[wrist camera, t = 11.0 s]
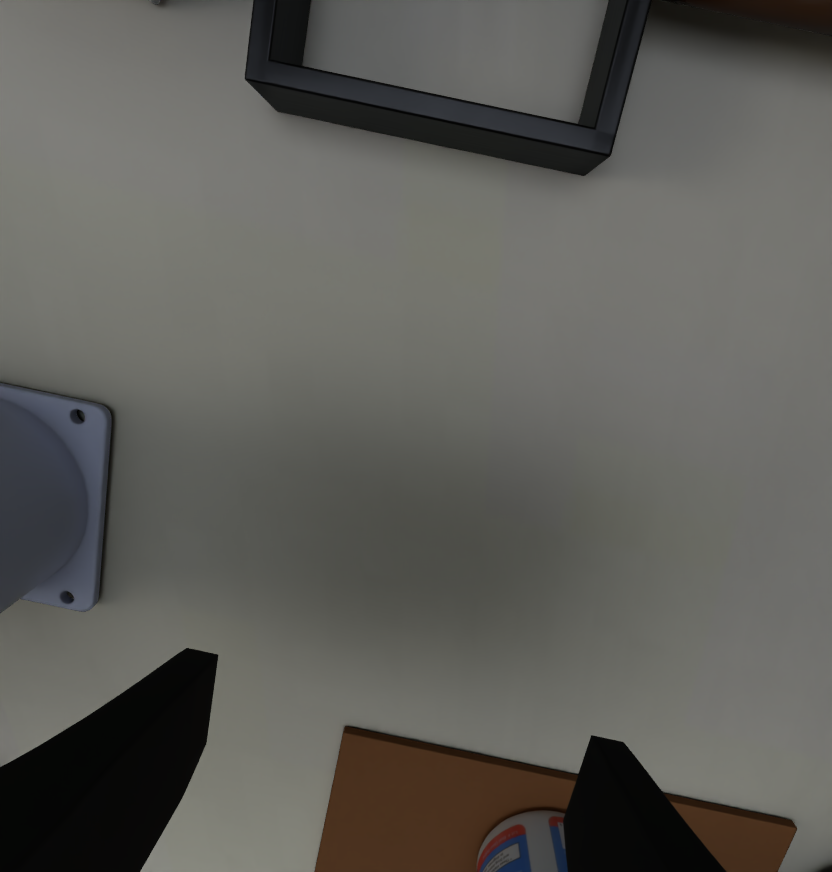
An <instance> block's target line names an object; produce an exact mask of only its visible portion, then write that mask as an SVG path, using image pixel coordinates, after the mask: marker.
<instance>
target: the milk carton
mask: <svg viewBox="0 0 832 872" xmlns="http://www.w3.org/2000/svg"><path fill="white" fill-rule="evenodd" d="M149 1H150V2H152V3H153V4H155V5H158V4H159V3H160V1H161V0H149Z"/></svg>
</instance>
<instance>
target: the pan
mask: <svg viewBox="0 0 832 872" xmlns="http://www.w3.org/2000/svg"><path fill="white" fill-rule="evenodd" d="M662 1H667V2H672V3H676V4H681V5H686V6H691V7H695V8H700V9H705V10H710V11H714V12H719V13H724V14H729V15H733V16H738V17H743V18H748V19H752V20H757V21H762V22H767V23H772V24H776V25H781V26H786V27H791V28H795V29H800V30H805V31H810V32H814V33H819V34H824V35H829V36H832V0H662ZM310 2H311V0H254V2H253V10H252V19H251V28H250V36H249V45H248V54H247V62H246V71H245V80H246V81H247V82H248V83H249V84H250V85H251V86H252V87H253V88H254V89H255V90H256V91H257V92H258V93H259V94H260V95H261V96H262V97H263V98H264V99H265V100H266V101H267V102H268V103H269V104H270V105H271V106H272V107H273V108H274V109H275V110H276V111H278V112H283V113H287V114H292V115H297V116H302V117H307V118H311V119H316V120H321V121H326V122H330V123H335V124H340V125H345V126H349V127H354V128H359V129H364V130H368V131H373V132H378V133H383V134H387V135H392V136H397V137H402V138H407V139H411V140H416V141H421V142H426V143H430V144H435V145H440V146H445V147H449V148H454V149H459V150H464V151H468V152H473V153H478V154H483V155H487V156H492V157H497V158H502V159H506V160H511V161H516V162H521V163H525V164H530V165H535V166H540V167H544V168H549V169H554V170H559V171H563V172H568V173H573V174H578V175H582V176H585V175H586V174H588V173H589V172H590V171H592V170H593V169H594V168H595V167H597V166H598V165H599V164H601V163H602V162H603V161H604V160H606V159H607V158H608V157H610V155H611V153H612V149H613V145H614V142H615V138H616V134H617V130H618V127H619V123H620V119H621V115H622V111H623V108H624V104H625V100H626V96H627V93H628V89H629V85H630V81H631V77H632V74H633V70H634V66H635V62H636V59H637V55H638V51H639V47H640V43H641V40H642V36H643V32H644V28H645V25H646V21H647V17H648V13H649V9H650V6H651V2H652V0H609V3H608V7H607V11H606V15H605V19H604V23H603V27H602V31H601V35H600V39H599V43H598V47H597V51H596V55H595V59H594V63H593V67H592V71H591V75H590V79H589V83H588V87H587V91H586V95H585V99H584V103H583V108H582V112H581V116H580V120H579V124H575V123H570V122H566V121H561V120H556V119H551V118H546V117H542V116H537V115H532V114H527V113H523V112H518V111H513V110H508V109H504V108H499V107H494V106H489V105H485V104H480V103H475V102H470V101H466V100H461V99H456V98H451V97H447V96H442V95H437V94H432V93H428V92H423V91H418V90H413V89H409V88H404V87H399V86H394V85H390V84H385V83H380V82H375V81H371V80H366V79H361V78H356V77H352V76H347V75H342V74H337V73H333V72H328V71H323V70H318V69H314V68H309V67H304V66H302V60H303V53H304V46H305V38H306V31H307V24H308V16H309V9H310Z"/></svg>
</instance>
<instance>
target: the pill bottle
mask: <svg viewBox="0 0 832 872" xmlns="http://www.w3.org/2000/svg"><path fill="white" fill-rule="evenodd" d="M564 816H565V814H564V813H561V812H556V811H546V810H539V811H530V812H525V813H521V814H517V815H515V816H512V817H510V818H508V819H506V820H504V821H503V822H501V823H500V824H499V825H497V826H496V827H495V828H494V829H493V830H492V831H491V832H490V833H489V834H488V836H487V837H486V838H485V840H484V842H483V844H482V846H481V848H480V851H479V854H478V859H477V872H568V870H567V861H566V851H565V839H564V828H563V819H564Z"/></svg>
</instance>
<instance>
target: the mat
mask: <svg viewBox="0 0 832 872" xmlns="http://www.w3.org/2000/svg"><path fill="white" fill-rule="evenodd" d="M577 777H578V775H575V774H570V773H565V772H560V771H556V770H551V769H546V768H541V767H537V766H532V765H527V764H522V763H518V762H513V761H508V760H503V759H499V758H494V757H489V756H485V755H480V754H475V753H470V752H466V751H461V750H456V749H451V748H447V747H442V746H437V745H432V744H428V743H423V742H418V741H413V740H409V739H404V738H399V737H394V736H390V735H385V734H380V733H375V732H371V731H366V730H361V729H356V728H352V727H347V726H345V727H344V732H343V736H342V741H341V746H340V751H339V756H338V761H337V766H336V771H335V775H334V780H333V785H332V790H331V795H330V800H329V805H328V810H327V814H326V819H325V824H324V829H323V834H322V839H321V844H320V848H319V853H318V858H317V863H316V868H315V872H477V859H478V854H479V851H480V848H481V846H482V844H483V842H484V840H485V838H486V837H487V836H488V834H489V833H490V832H491V831H492V830H493V829H494V828H495V827H496V826H497V825H499V824H500V823H501V822H503V821H504V820H506V819H508V818H510V817H512V816H515V815H517V814H521V813H525V812H530V811H539V810H546V811H556V812H561V813H564V814H565V813H566V810H567V807H568V804H569V801H570V798H571V795H572V792H573V789H574V786H575V783H576V780H577ZM664 795H665V796H666V797H667V799H668V800H669V801H670V802H671V804H672V805H673V806H674V808H675V809H676V810H677V811H678V813H679V814H680V815H681V816H682V818H683V819H684V820H685V822H686V823H687V824H688V825H689V827H690V828H691V829H692V830H693V832H694V833H695V834H696V835H697V837H698V838H699V839H700V840H701V841H702V843H703V844H704V845H705V846H706V848H707V849H708V850H709V851H710V852H711V854H712V855H713V856H714V857H715V858H716V860H717V861H718V862H719V863H720V864H721V866H722V867H723V868H724V869H725V870H726V872H778V869H779V867H780V865H781V863H782V861H783V859H784V856H785V854H786V852H787V850H788V848H789V846H790V843H791V841H792V839H793V837H794V835H795V833H796V831H797V827H796V826H795V824H794V823H793V821H792V820H788V819H783V818H779V817H774V816H769V815H764V814H760V813H755V812H750V811H745V810H741V809H736V808H731V807H726V806H722V805H717V804H712V803H707V802H703V801H698V800H693V799H688V798H684V797H679V796H674V795H669V794H665V793H664Z"/></svg>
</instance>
